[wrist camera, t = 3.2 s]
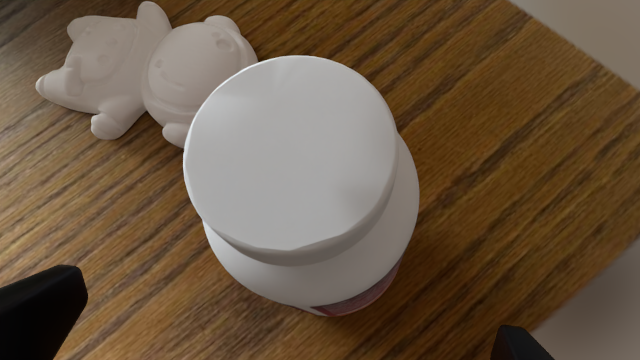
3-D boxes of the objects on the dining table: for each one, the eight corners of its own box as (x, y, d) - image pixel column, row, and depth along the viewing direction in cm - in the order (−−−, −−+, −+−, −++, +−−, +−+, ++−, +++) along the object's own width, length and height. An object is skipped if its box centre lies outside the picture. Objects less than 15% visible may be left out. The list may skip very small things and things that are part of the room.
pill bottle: (398, 183, 20) (435, 20, 9) (402, 320, 18) (453, 304, 7) (271, 182, 20) (174, 30, 10) (259, 314, 18) (121, 291, 8)
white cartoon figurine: (104, 1, 26) (71, -40, 23) (282, 38, 23) (270, -3, 20) (30, 121, 23) (-16, 92, 20) (222, 177, 21) (200, 153, 18)
